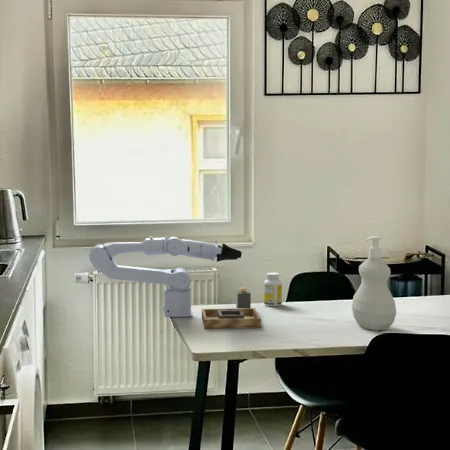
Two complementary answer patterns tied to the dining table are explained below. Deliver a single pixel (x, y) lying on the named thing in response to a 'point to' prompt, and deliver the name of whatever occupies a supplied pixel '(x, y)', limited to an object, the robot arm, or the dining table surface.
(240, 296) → the connector plug
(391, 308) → the soap bottle
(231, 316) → the collar
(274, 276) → the pill bottle
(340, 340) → the dining table surface
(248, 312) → the walled box
